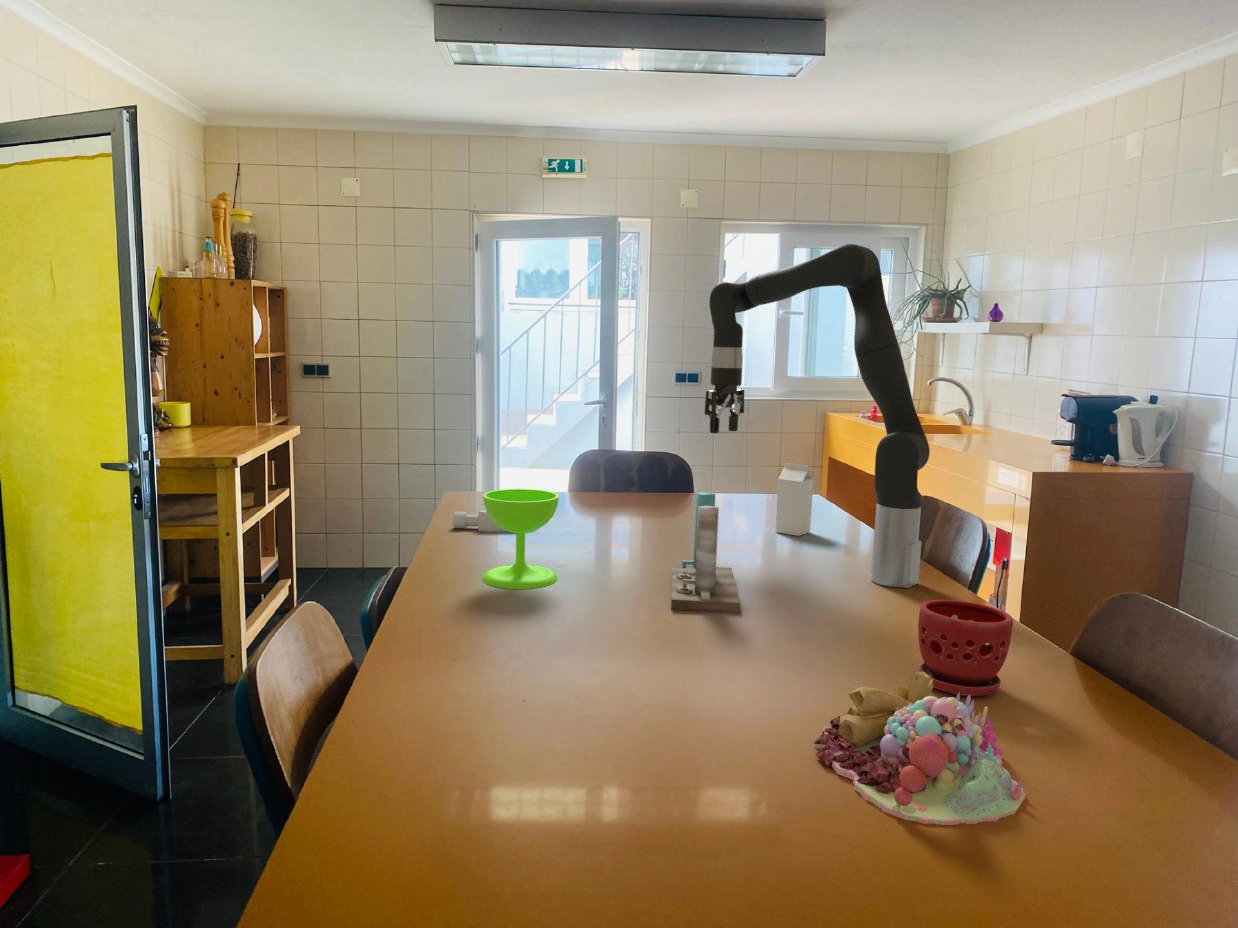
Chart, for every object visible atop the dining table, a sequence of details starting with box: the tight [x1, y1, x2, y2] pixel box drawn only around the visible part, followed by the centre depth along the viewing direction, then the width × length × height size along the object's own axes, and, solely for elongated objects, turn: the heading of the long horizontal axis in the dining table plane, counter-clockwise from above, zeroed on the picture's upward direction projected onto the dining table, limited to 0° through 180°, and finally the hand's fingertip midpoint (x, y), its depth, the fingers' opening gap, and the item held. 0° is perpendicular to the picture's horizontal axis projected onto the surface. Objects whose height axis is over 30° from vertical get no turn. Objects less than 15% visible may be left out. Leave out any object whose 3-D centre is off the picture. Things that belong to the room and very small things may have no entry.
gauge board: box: [670, 505, 741, 614], centre depth 176 cm, size 26×13×19 cm, turn 176°
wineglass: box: [481, 488, 560, 590], centre depth 182 cm, size 16×16×18 cm
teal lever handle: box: [681, 491, 716, 568], centre depth 183 cm, size 4×6×16 cm, turn 86°
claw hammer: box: [452, 510, 508, 533], centre depth 242 cm, size 6×22×30 cm
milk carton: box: [775, 462, 814, 537], centre depth 235 cm, size 7×7×19 cm
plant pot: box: [917, 599, 1014, 697], centre depth 131 cm, size 13×13×12 cm
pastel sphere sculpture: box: [813, 671, 1026, 826], centre depth 105 cm, size 25×24×9 cm
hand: (723, 432), depth 212 cm, fingers open, 8 cm apart
